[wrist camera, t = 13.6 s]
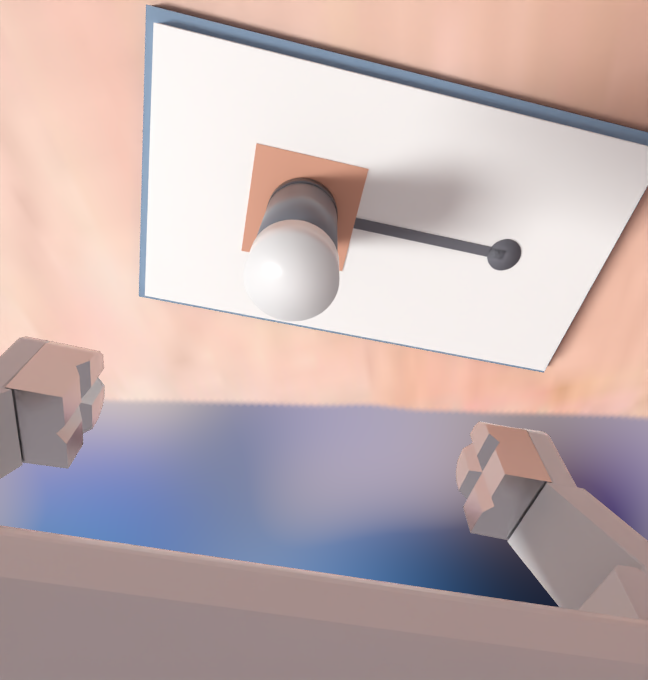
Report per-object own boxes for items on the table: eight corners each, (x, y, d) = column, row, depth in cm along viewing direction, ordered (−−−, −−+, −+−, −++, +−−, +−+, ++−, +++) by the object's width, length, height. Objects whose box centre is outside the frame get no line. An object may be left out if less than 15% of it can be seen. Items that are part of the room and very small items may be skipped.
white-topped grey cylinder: (346, 186, 22) (350, 246, 16) (328, 253, 24) (326, 329, 18) (273, 168, 22) (251, 224, 16) (261, 238, 24) (236, 310, 18)
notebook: (665, 136, 22) (684, 142, 21) (539, 366, 29) (548, 380, 28) (150, 5, 20) (140, 3, 19) (142, 291, 26) (134, 302, 25)
